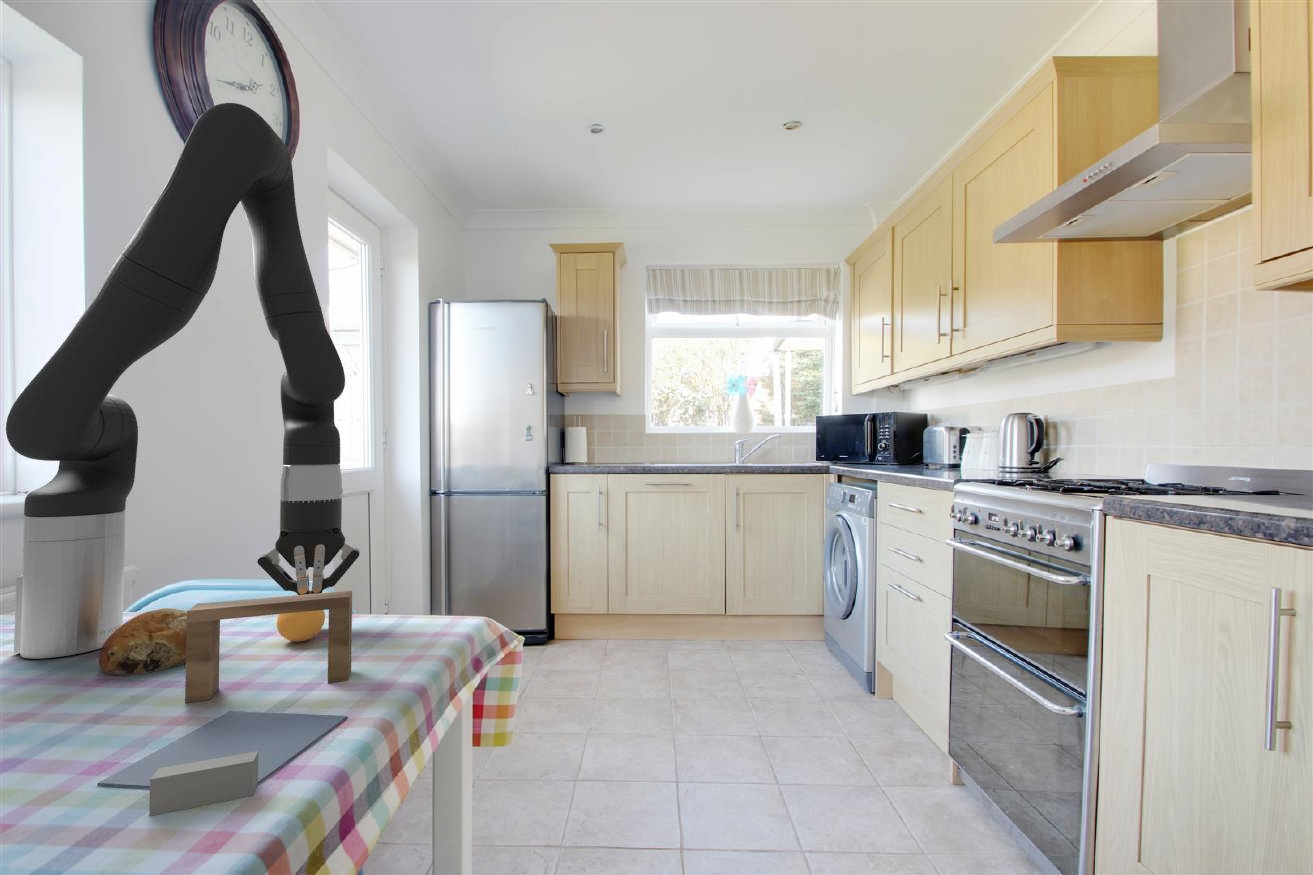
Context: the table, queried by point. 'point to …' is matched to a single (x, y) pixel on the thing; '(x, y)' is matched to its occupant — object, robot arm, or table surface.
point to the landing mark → (234, 744)
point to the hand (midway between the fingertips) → (310, 618)
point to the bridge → (208, 615)
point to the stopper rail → (203, 783)
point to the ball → (300, 625)
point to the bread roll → (146, 643)
